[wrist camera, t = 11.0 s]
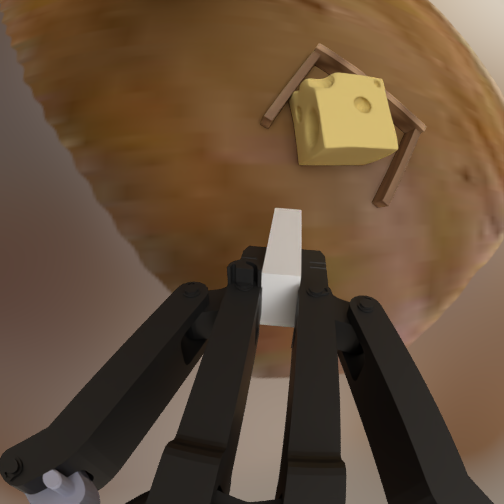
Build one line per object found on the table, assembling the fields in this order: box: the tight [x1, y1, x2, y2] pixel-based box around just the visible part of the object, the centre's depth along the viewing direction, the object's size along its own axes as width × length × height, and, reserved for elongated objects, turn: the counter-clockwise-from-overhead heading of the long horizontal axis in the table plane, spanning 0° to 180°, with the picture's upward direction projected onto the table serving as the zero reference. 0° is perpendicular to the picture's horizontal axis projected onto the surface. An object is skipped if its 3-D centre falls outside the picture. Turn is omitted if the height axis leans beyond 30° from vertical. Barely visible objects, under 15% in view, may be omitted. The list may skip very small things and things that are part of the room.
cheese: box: [289, 73, 398, 165], centre depth 33 cm, size 10×11×10 cm
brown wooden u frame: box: [260, 43, 426, 207], centre depth 37 cm, size 20×15×4 cm
